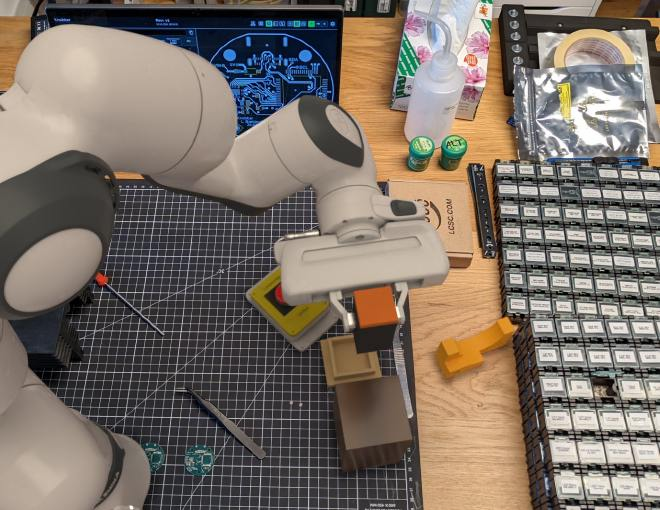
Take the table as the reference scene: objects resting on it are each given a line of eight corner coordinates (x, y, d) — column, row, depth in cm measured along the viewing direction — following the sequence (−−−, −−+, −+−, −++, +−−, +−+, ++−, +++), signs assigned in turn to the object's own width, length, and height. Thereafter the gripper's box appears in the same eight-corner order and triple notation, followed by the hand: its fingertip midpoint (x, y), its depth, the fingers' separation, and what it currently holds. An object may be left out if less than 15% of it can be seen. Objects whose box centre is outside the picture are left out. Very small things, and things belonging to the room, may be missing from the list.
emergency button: (281, 251, 109) (341, 308, 104) (282, 263, 113) (340, 318, 107) (240, 284, 106) (300, 344, 100) (243, 295, 109) (301, 354, 104)
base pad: (327, 387, 101) (327, 381, 99) (320, 342, 105) (320, 335, 103) (381, 379, 102) (383, 373, 100) (372, 334, 106) (373, 327, 103)
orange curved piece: (446, 378, 102) (453, 365, 97) (434, 355, 104) (441, 341, 99) (509, 354, 105) (520, 339, 99) (497, 331, 107) (507, 316, 101)
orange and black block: (356, 354, 75) (360, 325, 67) (350, 322, 77) (353, 291, 69) (390, 349, 75) (398, 320, 67) (384, 317, 77) (390, 285, 69)
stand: (342, 472, 95) (345, 450, 81) (332, 414, 99) (334, 384, 85) (399, 463, 96) (413, 439, 82) (387, 406, 100) (398, 374, 86)
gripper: (269, 222, 74) (283, 329, 67) (436, 200, 76) (465, 302, 69) (273, 248, 80) (286, 349, 73) (428, 227, 81) (455, 324, 75)
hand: (375, 326), depth 71 cm, fingers closed on orange and black block, 4 cm apart
